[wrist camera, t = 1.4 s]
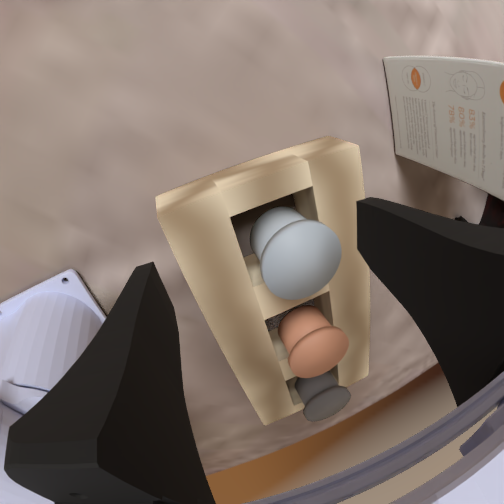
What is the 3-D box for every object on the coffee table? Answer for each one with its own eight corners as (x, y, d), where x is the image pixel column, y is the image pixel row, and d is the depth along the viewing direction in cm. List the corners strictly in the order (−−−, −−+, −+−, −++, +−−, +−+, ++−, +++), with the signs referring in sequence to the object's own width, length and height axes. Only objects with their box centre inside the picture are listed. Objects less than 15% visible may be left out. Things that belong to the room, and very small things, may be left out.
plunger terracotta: (279, 353, 24) (296, 386, 21) (266, 316, 22) (286, 351, 19) (328, 330, 25) (349, 359, 22) (322, 291, 22) (348, 321, 19)
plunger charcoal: (294, 399, 28) (308, 426, 25) (286, 377, 26) (303, 407, 23) (334, 380, 29) (350, 405, 26) (331, 355, 27) (350, 383, 24)
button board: (253, 400, 31) (264, 425, 28) (155, 196, 18) (157, 217, 15) (352, 354, 33) (368, 375, 30) (328, 135, 20) (358, 145, 17)
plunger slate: (253, 277, 20) (274, 311, 17) (234, 216, 17) (253, 244, 14) (316, 251, 20) (344, 279, 17) (304, 189, 18) (336, 211, 15)
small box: (441, 141, 23) (564, 194, 12) (393, 155, 22) (534, 222, 11) (433, 54, 19) (571, 77, 8) (380, 55, 18) (544, 71, 7)
